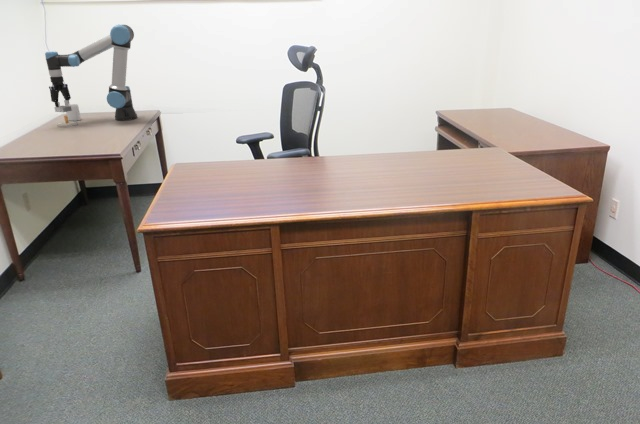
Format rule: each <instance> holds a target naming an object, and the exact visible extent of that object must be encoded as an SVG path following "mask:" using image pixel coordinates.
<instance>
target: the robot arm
mask: <svg viewBox="0 0 640 424" xmlns="http://www.w3.org/2000/svg"><path fill="white" fill-rule="evenodd" d="M134 37H135V32H134V30H133V28H132V27H131V26H129V25H128V24H115V25H114V26H113V27H112V28H111V29H110V33H109V34H108V35H107V36H105V37H102V38H100V39H98V40H97V41H94V42H92V43H91V44H88V45H87V46H85V47H83V48H81V49H79V50H76V51H75V52H72V53H69V54H59V53H58V51H46V52H45V53H44V54H45V55H44V56H45V61H46V65H47V69H48V75H49V78H50V82H51V84H52V85H51V86H50V85H49V86H48V88H49V92H50V98H51V99H50V100H51V102H53V103H54V106H55V107H56V108H57V112H56V113H62V112H61V108H60V106H61V105H60V102H59V96H60V95H59V93H61V95H62V97H63V102H64V106H69V105H70V101H71V98H72V97H71V94H70V91H69V86H68V83H65V82H64V81H65V79H64V76H63V71H62V67H63V68H65V67H66V68H68V67H73V68H75V67H79V66H80V65H81V64H82V63H84V62H86V61H88V60H90V59H92V58H94V57H96V56H98V55H100V54H102V53H104V52H106V51H108V50H110V49H112V48H113V52H112V55H113V56H112V71H111V72H112V73H111V84H110V85H109V86H108V93H107V95H106V102H107V104H108V105H109V106H110V107H111V108H114V109H115V112H114V114H115V115H114V119H115V120H116V121H131V120H132V121H133V120H136V119H138V114H137V111H135V108H134V105H133V99H132V93H131V88H130V86H128V85H126V81H127V79H126V78H127V68H128V67H127V65H128V53H129V50H130V49H131V44H132V41H133V40H134Z"/></svg>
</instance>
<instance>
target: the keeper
mask: <svg viewBox="0 0 640 424" xmlns="http://www.w3.org/2000/svg"><path fill="white" fill-rule="evenodd" d="M63 117H64V121H63V122H58V123H57V124H56V126H57V127H65V128H66V127H67V128H68V127H72V126H75V125H79V123H78V121H68V117H67V114H65V115H63Z"/></svg>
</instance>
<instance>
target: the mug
mask: <svg viewBox="0 0 640 424" xmlns="http://www.w3.org/2000/svg"><path fill="white" fill-rule="evenodd" d="M69 106H71V110H72V111H68V112H65V113H66V114H65V115H67V117H68V121H71V122H78V121H81V120H82V118H81V113H80V107H79V104H78V103H77V104H76V103H74V104H73V103H72V104H70V103H69Z"/></svg>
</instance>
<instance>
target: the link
mask: <svg viewBox="0 0 640 424" xmlns="http://www.w3.org/2000/svg"><path fill="white" fill-rule="evenodd" d="M60 108H61V112H60V113H66V112H68V111H72V110H71V106H65V105H60ZM54 111H55V113H58V112H57V108H56V106H55V107H54Z"/></svg>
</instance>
